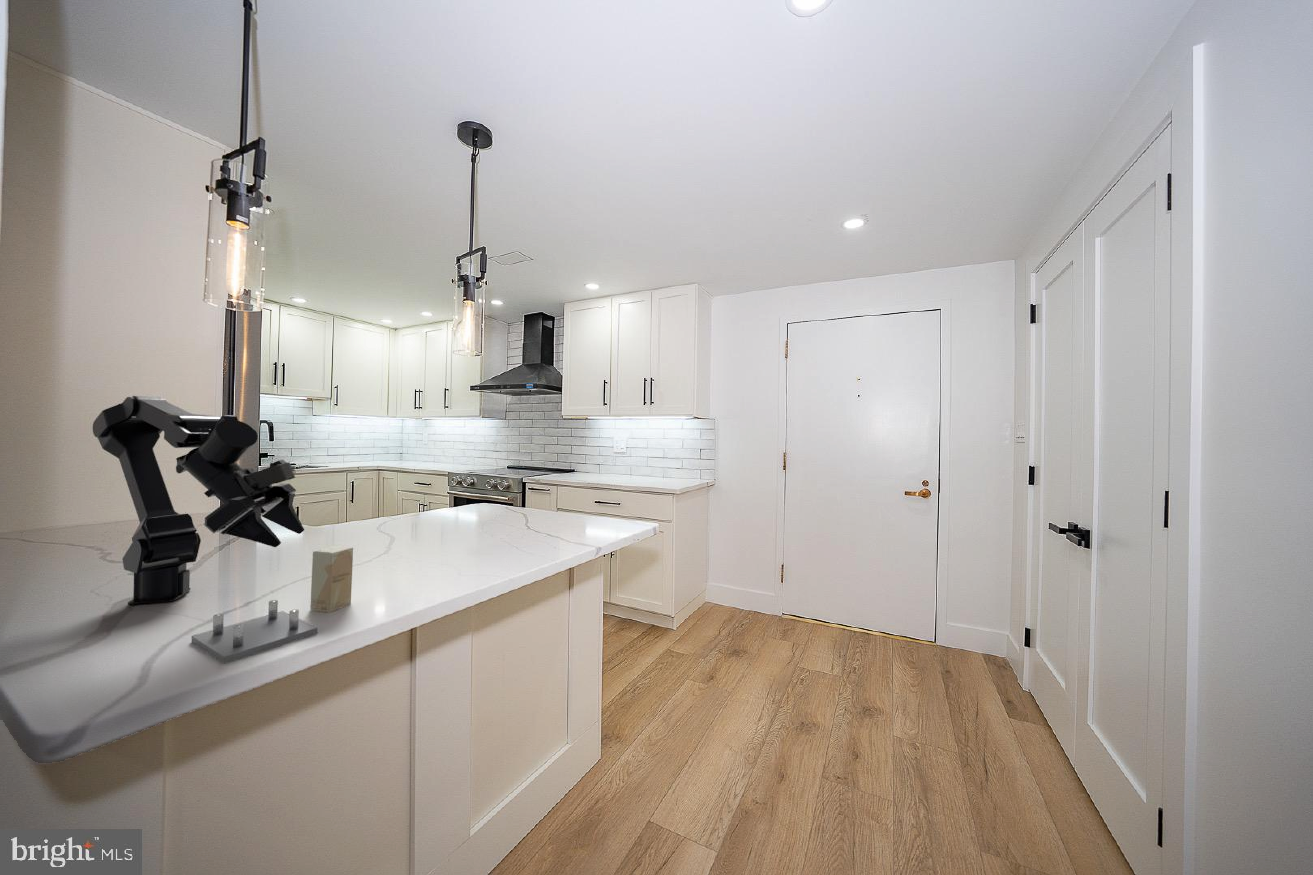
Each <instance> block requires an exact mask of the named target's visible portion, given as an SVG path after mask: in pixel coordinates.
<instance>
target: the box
mask: <svg viewBox="0 0 1313 875" xmlns="http://www.w3.org/2000/svg"><path fill="white" fill-rule="evenodd" d="M353 557H354V547H352V546H345V545H332V546H328V547H324V548H321V549H317V550H313V551H312V564H311V585H310V586H311V587H310V605H309V606H310V608H309V609H310V611H315V612H323V613H331V612H333V611H337V610H338V609H341V608H344V607H346V606H349V605H351V603H352V589H353V588H352V587H353V586H352V585H353V583H352V581H353V563H354V562H353V560H354V558H353Z"/></svg>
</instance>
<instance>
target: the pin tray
mask: <svg viewBox="0 0 1313 875" xmlns="http://www.w3.org/2000/svg"><path fill="white" fill-rule="evenodd" d="M278 603H279V601H278V600H277V599H273V600H269V601H268V613H267V614H266V615H263V616H259V617H256V618H251V619H248V620H245V621H241V622H238V623H233V624H229V625H226V626H224V617H225V616H224V613H218V614H214V615H212V620H213V621H212V629H211V630H207V631H204V632H200V633H197V634H193V635H191V643H192V644H193V645H195V646H197V647H198V648H200V649H201V650H203V651H204V652H205V653H207V654H208V655H210V656H212V657H213V658H215V659H216V660H217V661H219V662H221V663H222V664H224V665H225V664H228V663H231V662H234V661H237V660H240V659H243V658H247V657H249V656H253V655H255V654H258V653H263V652H265V651H267V650H270V649H271V650H272V649H275V648H277V647H280V646H283V645H286V644H289V643H292V642H295V641H298V640H301V639H305V638H307V637H310V636H314V635H317V634H318V633H319V632H318V631H319V630H318V629H319V628H318V626H316V625H313V624H311V623H309V622H307V621H305V620H303V619H301V618H299V617H300V616H299V615H300V611H299V609H292V610H289V613H287V612H286V611H284V610H281V611H278V610H279V609H278V608H279V604H278Z"/></svg>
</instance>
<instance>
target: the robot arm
mask: <svg viewBox="0 0 1313 875" xmlns="http://www.w3.org/2000/svg"><path fill="white" fill-rule="evenodd" d="M162 432H164V434H163V440H164V441H166V442H167V443H168V444H169V445H171V447H173V448H175V449H187V448H188V449H191V450H189V452H188V453H186V454H184V455H181V456H179V457H177V458H175V461H176V465H175V471H176V474H183V473H184V472H188V473H189V474H190V475H191V476H192V477H193V478H194V479H195V480H197V481H198V482H199V483H200V484H201V485H202V486H203V487H204V488H206V489H207V490H206V491H205V492H204V493H203V494H204V495H205V496H206V497H207V498H211V497H216V498H217V499H218V500H219V501H220V502H221V503H222V504H221V505H220V506H219V507H217V508H216V509H215V510H213V511H212V512H210V513H209V514H207V515H206V516H205V517H204V527H205V528H206V529H208V530H209V531H210V532H212V533H213V534H216V533H219V532H220V534H222V535H230V536H233V537H236V538H237V537H238V538H241V539H244V540H249V541H252V542H256V543H259V544H262V545H265V546H269V547H272V548H277V547H278V546H280V545H281V544H282V542H281V540H280V539H279V538H278V536H277V535H276V534H275V533H274V531H273V530H272V529H271V528H270V526H268V524H266V521H264V520H263V519H262V518H265V519H266V520H268V521H271V522H273V523H274V524H277V525H278V526H281V527H283V528H285V529H287V530H289V531H290V532H291V531H292V532H293V533H296V534H297V535H298V534H299V535H300V534H302V533H303V532H304V531H305V527H304V526H303V524H302V522H301V521H300V518H299V517H298V515H297V513H296V511H295V509H294V507H293V506H294V505H293V504H294V503H293V502H294V498H295V497H296V492H297V489H295V488H294V486H293V485H291V484H290V483H283V482H285V481H290V480H293V479H295V478H296V476H295V474H294V470H295V466H294V465H292V464H291V462H289V461H285V460H284V459H279V460H276V461H274V462H270V463H269V467H266V468H264V469H261V470H258V471H255V470H254V469H253V468H250V467H247V468H243V467H241V466H240V465H239V464H238V463H237V462H238V461H239V460H241V458H243V456H245V454H246V453H247V452H248V451H249V450H250V449H251V448H252V447H253V446H254V445H255V444H256V442H257V441H258V432H257V431H256V429H254V427H252V426H251V425H249V424H248V423H246V422H243V421H241V420H239V419H238V417H237V415H232V414H231V415H229V414H228V415H227V414H222V415H221V417H220V416H217V415H209V414H208V415H207V414H198V413H197V414H196V413H195V414H194V413H191V412H189V411H188V410H185V409H183V408H180V407H179V406H176V405H174V404H172V403H170V402H168V401H167V399H165V398H161V397H159V396H144V395H141V396H140V395H132V396H127V397H126V398H125V399H124V400H123V401H122V402H121V403H118V404H116V405H113V406H111V407H108V408H105V409H103V410H102V411H101V412H100V413H99V414H98V416H96V418H95V420H94V421H93V423H92V434H93V436H94V437H95V438H96V439H97V440H98V442H99V444H100V446H101V448H102V449H103V450H104V451H106V452H107V453H109V454H110V455H112V456H114V457H116V458H117V459H118V460H119V463H120V466H121V468H122V473H123V477H124V478H125V481H126V484H127V488H128V491H129V494H130V497H131V499H132V502H133V505H134V508H135V512H136V514H137V517H138V521H139V524H138V526H137V528H136V530H135V532H133V535H132V537H131V541H132V542H131V544H130V545H129V547H128V548H127V550H126V552H125V554H124V555H123V557H122V564H123V566H122V567H123V569H124V570H125V571H127V572H131V573H133V597H132V599H130V600H129V601H127V605H128V606H131V605H132V606H133V605H144V604H155V603H156V604H157V603H166V602H170V603H171V602H174V601H176V600H178V599H179V598H181V597H182V596H184V595H186V594H187V593H188V592H189V591H191V587H190V580H191V579H190V578H191V577H190V576H191V571H190V569H187V564H188V563H189V564H190V563H195V562H197V558H198V554H199V550H200V546H201V541H202V540H201V537H200V534H199V532H198V530H197V529H196V527H195V525H194V521H193V518H192V516H191V515H190V514H189V513H179V512H177V511H175V509H174V506H173V503H172V499H171V497H170V494H169V492H168V489H167V488H168V487H167V486H166V483H165V481H164V477H163V474H162V472H161V469H160V465H159V462H158V460H157V457H156V455H155V451H154V447H155V446H156V444H157V442H158V441H159V439H160V438H161V434H162ZM192 448H193V449H192ZM275 484H276V485H275Z"/></svg>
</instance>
